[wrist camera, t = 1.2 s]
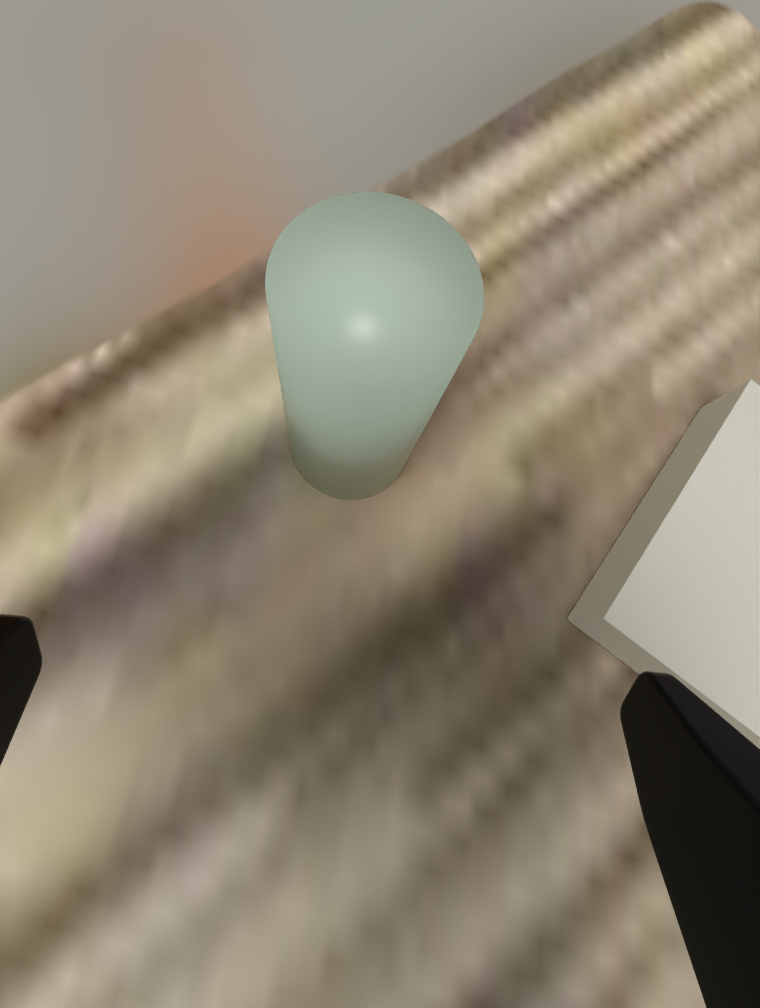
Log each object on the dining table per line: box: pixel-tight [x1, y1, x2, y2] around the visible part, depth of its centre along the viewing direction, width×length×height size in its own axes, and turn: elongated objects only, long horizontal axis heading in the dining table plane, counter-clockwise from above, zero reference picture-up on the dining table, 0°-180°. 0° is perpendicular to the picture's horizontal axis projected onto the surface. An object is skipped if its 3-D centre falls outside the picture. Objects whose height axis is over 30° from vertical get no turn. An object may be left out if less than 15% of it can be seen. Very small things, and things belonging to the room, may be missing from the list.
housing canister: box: [265, 192, 484, 499], centre depth 18 cm, size 5×5×11 cm
